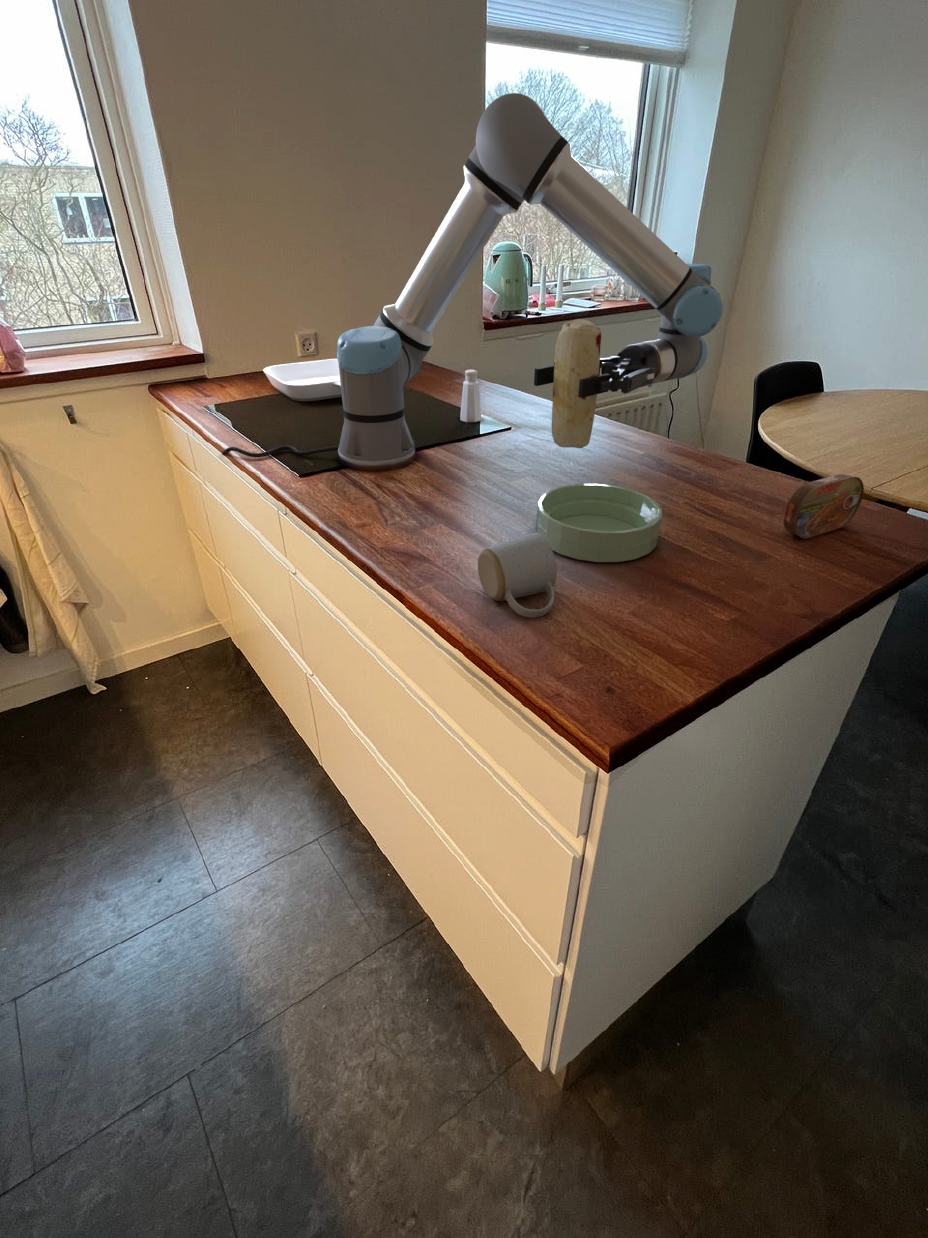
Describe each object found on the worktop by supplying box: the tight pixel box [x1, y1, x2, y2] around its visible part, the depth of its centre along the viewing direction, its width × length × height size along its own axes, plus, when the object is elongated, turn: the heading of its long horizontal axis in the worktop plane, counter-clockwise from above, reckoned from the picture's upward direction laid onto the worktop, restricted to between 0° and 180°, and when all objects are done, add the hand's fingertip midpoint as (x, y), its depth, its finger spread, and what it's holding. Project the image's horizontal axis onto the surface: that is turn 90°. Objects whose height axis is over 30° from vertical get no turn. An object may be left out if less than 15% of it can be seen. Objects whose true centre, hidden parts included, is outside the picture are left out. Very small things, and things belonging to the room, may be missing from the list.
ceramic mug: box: [477, 532, 558, 619], centre depth 80 cm, size 11×8×8 cm
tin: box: [783, 473, 865, 540], centre depth 97 cm, size 15×3×8 cm, turn 117°
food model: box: [551, 318, 602, 449], centre depth 107 cm, size 10×7×20 cm
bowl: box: [535, 483, 663, 563], centre depth 96 cm, size 18×18×5 cm
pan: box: [262, 358, 342, 402], centre depth 168 cm, size 27×42×5 cm, turn 32°
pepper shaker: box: [459, 369, 482, 423], centre depth 147 cm, size 5×5×11 cm
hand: (557, 382), depth 104 cm, fingers closed on food model, 9 cm apart
